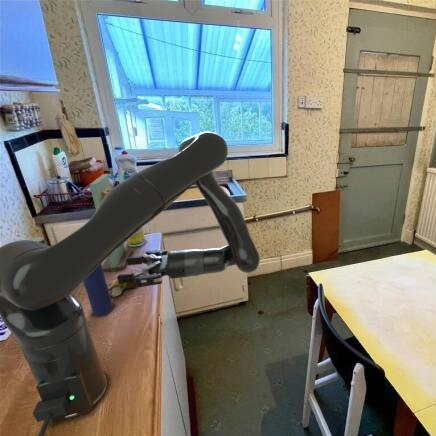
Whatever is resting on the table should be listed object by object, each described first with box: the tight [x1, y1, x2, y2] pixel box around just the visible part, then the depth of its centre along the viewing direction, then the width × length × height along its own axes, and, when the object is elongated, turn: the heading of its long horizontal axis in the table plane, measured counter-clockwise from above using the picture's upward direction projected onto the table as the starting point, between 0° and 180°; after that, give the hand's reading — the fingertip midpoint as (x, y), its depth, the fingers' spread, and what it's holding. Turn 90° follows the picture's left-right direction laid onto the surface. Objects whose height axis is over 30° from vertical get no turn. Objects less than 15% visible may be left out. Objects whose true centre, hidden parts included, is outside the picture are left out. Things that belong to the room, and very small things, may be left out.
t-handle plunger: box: [82, 263, 114, 317], centre depth 74 cm, size 8×5×22 cm, turn 15°
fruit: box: [107, 272, 137, 297], centre depth 87 cm, size 8×8×4 cm
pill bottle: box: [126, 226, 146, 248], centre depth 111 cm, size 6×6×11 cm
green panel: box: [89, 173, 132, 273], centre depth 95 cm, size 11×12×30 cm
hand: (122, 269), depth 75 cm, fingers open, 8 cm apart
